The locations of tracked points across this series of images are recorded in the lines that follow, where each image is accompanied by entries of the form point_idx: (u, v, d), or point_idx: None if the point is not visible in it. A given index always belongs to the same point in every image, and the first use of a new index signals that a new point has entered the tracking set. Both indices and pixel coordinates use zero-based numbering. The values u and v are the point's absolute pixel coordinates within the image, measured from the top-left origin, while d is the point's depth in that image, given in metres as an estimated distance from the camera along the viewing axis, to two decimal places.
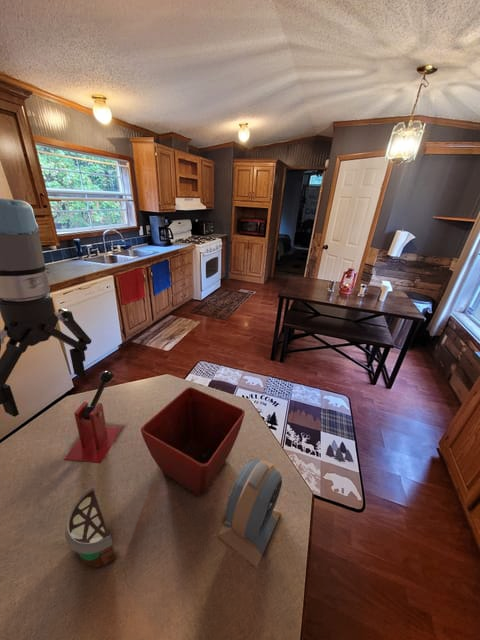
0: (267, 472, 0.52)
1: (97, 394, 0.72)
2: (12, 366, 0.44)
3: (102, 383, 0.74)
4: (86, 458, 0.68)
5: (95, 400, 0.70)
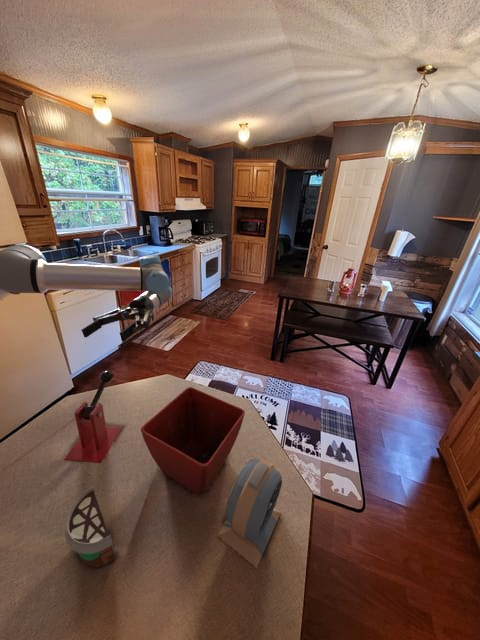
0: (267, 472, 0.52)
1: (97, 394, 0.72)
2: None
3: (102, 383, 0.74)
4: (86, 458, 0.68)
5: (95, 400, 0.70)
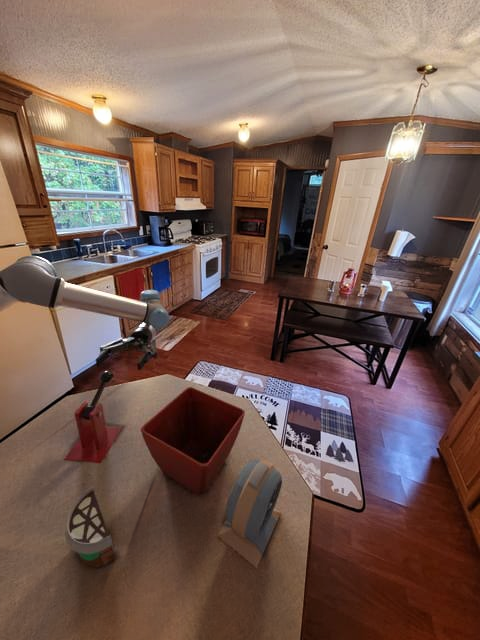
0: (267, 472, 0.52)
1: (97, 394, 0.72)
2: None
3: (102, 383, 0.74)
4: (86, 458, 0.68)
5: (95, 400, 0.70)
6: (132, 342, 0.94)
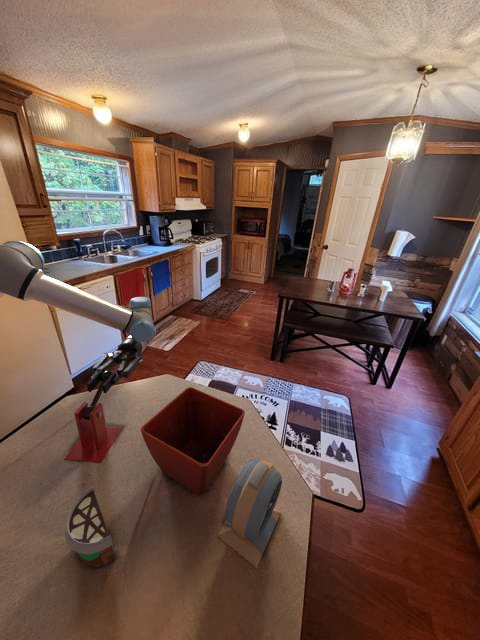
0: (267, 472, 0.52)
1: (97, 394, 0.72)
2: None
3: (102, 383, 0.74)
4: (86, 458, 0.68)
5: (95, 400, 0.70)
6: (119, 356, 0.84)
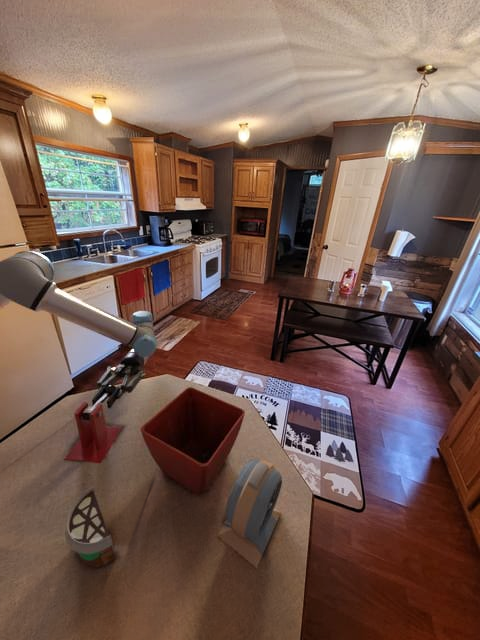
0: (267, 472, 0.52)
1: (100, 400, 0.73)
2: None
3: (106, 393, 0.77)
4: (86, 458, 0.68)
5: None
6: (122, 370, 0.88)
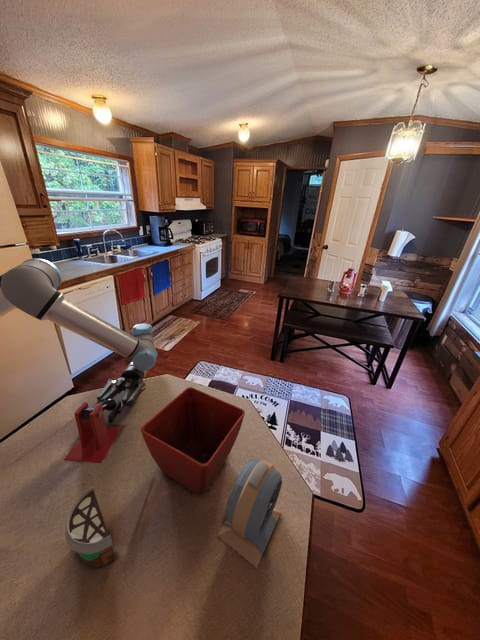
0: (267, 472, 0.52)
1: None
2: None
3: (106, 404, 0.77)
4: (86, 458, 0.68)
5: None
6: (122, 384, 0.89)
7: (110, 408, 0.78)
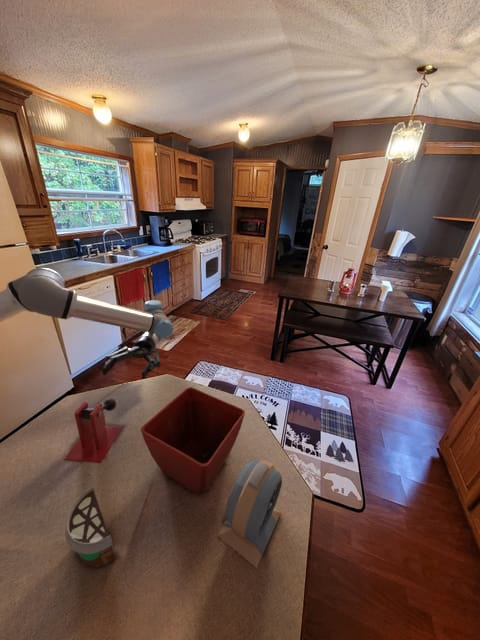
0: (267, 472, 0.52)
1: None
2: (149, 362, 0.96)
3: (106, 404, 0.77)
4: (86, 458, 0.68)
5: None
6: (136, 351, 0.99)
7: (110, 408, 0.78)
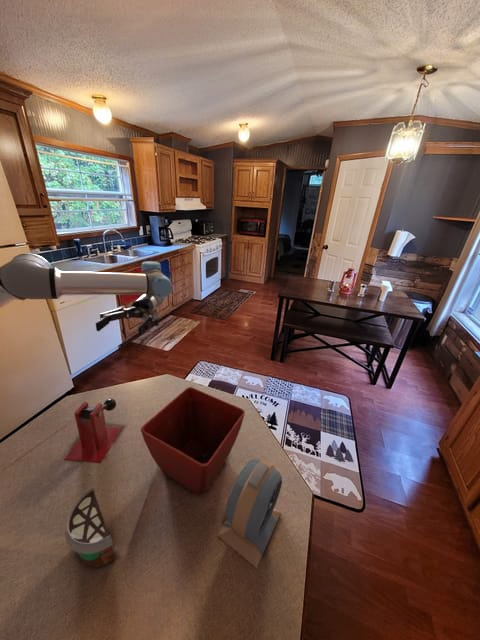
0: (267, 472, 0.52)
1: None
2: None
3: (106, 404, 0.77)
4: (86, 458, 0.68)
5: None
6: (133, 311, 0.92)
7: (110, 408, 0.78)
